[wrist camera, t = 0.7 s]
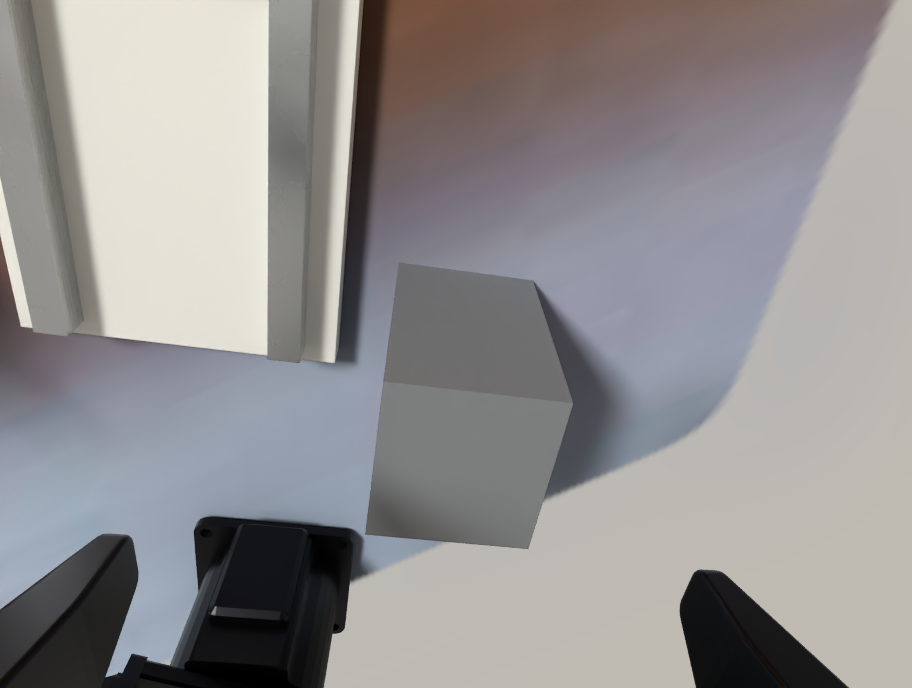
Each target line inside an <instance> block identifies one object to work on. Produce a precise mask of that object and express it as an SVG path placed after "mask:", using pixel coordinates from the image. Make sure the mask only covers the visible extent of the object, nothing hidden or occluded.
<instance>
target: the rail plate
mask: <svg viewBox="0 0 912 688" xmlns="http://www.w3.org/2000/svg"><path fill="white" fill-rule="evenodd" d="M363 1H364V0H0V236H1V240H2V244H3V249H4V253H5V258H6V262H7V267H8V271H9V276H10V280H11V284H12V289H13V293H14V298H15V302H16V307H17V311H18V315H19V320H20V324H21V327H29V328H33V332H36V333H45V334H54V335H62V336H69V335H70V334H71V333H81V334H89V335H98V336H106V337H115V338H124V339H132V340H141V341H149V342H158V343H166V344H175V345H183V346H192V347H201V348H209V349H218V350H226V351H235V352H243V353H252V354H261V355H267V359H269V360H278V361H286V362H295V363H299V362H300V360H301V359H303V360H312V361H320V362H329V363H335V360H336V356H337V352H338V348H339V336H340V322H341V308H342V294H343V280H344V266H345V252H346V238H347V224H348V210H349V196H350V182H351V168H352V154H353V140H354V127H355V113H356V99H357V85H358V71H359V57H360V43H361V29H362V15H363Z"/></svg>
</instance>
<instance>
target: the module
mask: <svg viewBox="0 0 912 688" xmlns="http://www.w3.org/2000/svg"><path fill="white" fill-rule="evenodd" d="M572 406H573V401H572V398H571V394H570V391H569V388H568V385H567V382H566V379H565V376H564V373H563V370H562V367H561V364H560V361H559V358H558V355H557V352H556V349H555V346H554V343H553V340H552V337H551V334H550V330H549V327H548V324H547V321H546V318H545V315H544V312H543V309H542V306H541V303H540V300H539V297H538V294H537V291H536V288H535V285H534V282H533V281H531V280H524V279H517V278H509V277H502V276H494V275H487V274H479V273H472V272H465V271H457V270H450V269H442V268H435V267H428V266H420V265H413V264H405V263H399V268H398V275H397V283H396V291H395V298H394V306H393V313H392V321H391V328H390V336H389V343H388V351H387V358H386V366H385V373H384V381H383V389H382V398H381V406H380V415H379V423H378V432H377V440H376V449H375V457H374V466H373V474H372V482H371V491H370V499H369V508H368V516H367V525H366V533H365V535H376V536H388V537H399V538H410V539H422V540H433V541H444V542H455V543H468V544H478V545H490V546H501V547H512V548H523V549H528V548H529V544H530V541H531V538H532V535H533V532H534V529H535V525H536V522H537V519H538V516H539V512H540V509H541V506H542V503H543V500H544V496H545V493H546V490H547V487H548V483H549V480H550V477H551V474H552V471H553V467H554V464H555V461H556V458H557V454H558V451H559V448H560V445H561V442H562V438H563V435H564V432H565V429H566V425H567V422H568V419H569V416H570V413H571V409H572Z"/></svg>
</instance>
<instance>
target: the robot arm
mask: <svg viewBox="0 0 912 688" xmlns="http://www.w3.org/2000/svg"><path fill="white" fill-rule="evenodd" d="M207 529H209V530H207ZM194 541H195V553H196V566H197V578H198V591H199V592H198V595H197V597H196V600H195V602H194V605H193V608H192V610H191V613H190V615H189V618H188V620H187V623H186V625H185V628H184V631H183V633H182V636H181V638H180V641H179V643H178V646H177V648H176V651H175V654H174V656H173V659H172V661H171V664H170V666H169V665H165V664H161V663H157V662H152V661H148V660H147V658H148V657H144V656H140V655H136V654H132V655H131V657H130V659H129V661H128V663H127V665H126V667H125V669H124V671H123V673H119V672H118V674H117V675H116V674H115V675H113V676H109V677H105V676H106V673H107V671H108V668H109V665H110V662H111V659H112V656H113V653H114V650H115V647H116V645H117V642H118V639H119V636H120V633H121V630H122V627H123V624H124V621H125V619H126V616H127V613H128V610H129V607H130V604H131V601H132V598H133V595H134V593H135V590H136V586H137V582H138V567H137V561H136V555H135V549H134V543H133V540H132V538H131V537H130V536H128V535H121V534H102V535H100V536H98V537H96V538H95V539H94V540H92V541H91V542H90V543H88V544H87V545H86V546H84V547H83V548H82V549H80V550H79V551H78V552H76V553H75V554H74V555H72V556H71V557H70V558H68V559H67V560H66V561H64V562H63V563H62V564H60V565H59V566H58V567H56V568H55V569H54V570H52V571H51V572H50V573H48V574H47V575H46V576H44V577H43V578H42V579H40V580H39V581H38V582H36V583H35V584H34V585H32V586H31V587H30V588H28V589H27V590H26V591H24V592H23V593H22V594H20V595H19V596H18V597H16V598H15V599H14V600H12V601H11V602H10V603H8V604H7V605H6V606H4V607H3V608H2V609H0V688H324V682H325V676H326V669H327V663H328V657H329V650H330V645H331V639H332V634H336V633H340V632H342V631H343V630H344V628H345V621H346V611H347V603H348V593H349V584H350V575H351V565H352V556H353V546H354V535H353V534H352V533H351V532H350V531H348V530H344V529H334V528H323V527H312V526H301V525H289V524H278V523H267V522H256V521H245V520H234V519H222V518H211V517H205V518H202V519H200V520H199V521H198V522H197V524H196V527H195V529H194ZM341 541H344V542H341ZM680 618H681V623H682V627H683V631H684V635H685V640H686V645H687V649H688V654H689V658H690V662H691V667H692V671H693V676H694V681H695V685H696V688H849V687H847V686H846V685H845V684H844V683H843V682H842V681H841V680H840V679H839V678H838V677H837V676H836V675H834V674H833V673H832V672H831V671H830V670H829V669H828V668H827V667H826V666H825V665H823V664H822V663H821V662H820V661H819V660H818V659H817V658H816V657H815V656H814V655H812V654H811V653H810V652H809V651H808V650H807V649H806V648H805V647H804V646H803V645H802V644H801V643H799V642H798V641H797V640H796V639H795V638H794V637H793V636H792V635H791V634H790V633H789V632H788V631H786V630H785V629H784V628H783V627H782V626H781V625H780V624H779V623H778V622H777V621H776V620H774V619H773V618H772V617H771V616H770V615H769V614H768V613H767V612H766V611H765V610H764V609H762V608H761V607H760V606H759V605H758V604H757V603H756V602H755V601H754V600H753V599H752V598H750V597H749V596H748V595H747V594H746V593H745V592H744V591H743V590H742V589H741V588H740V587H738V586H737V585H736V584H735V583H734V582H733V581H732V580H731V579H730V578H728V576H726V575H725V574H724V573H722V572H720V571H715V570H697V571H696V572H694V574H693V576H692V578H691V580H690V582H689V584H688V586H687V589H686V591H685V593H684V595H683V597H682V600H681V603H680Z"/></svg>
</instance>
